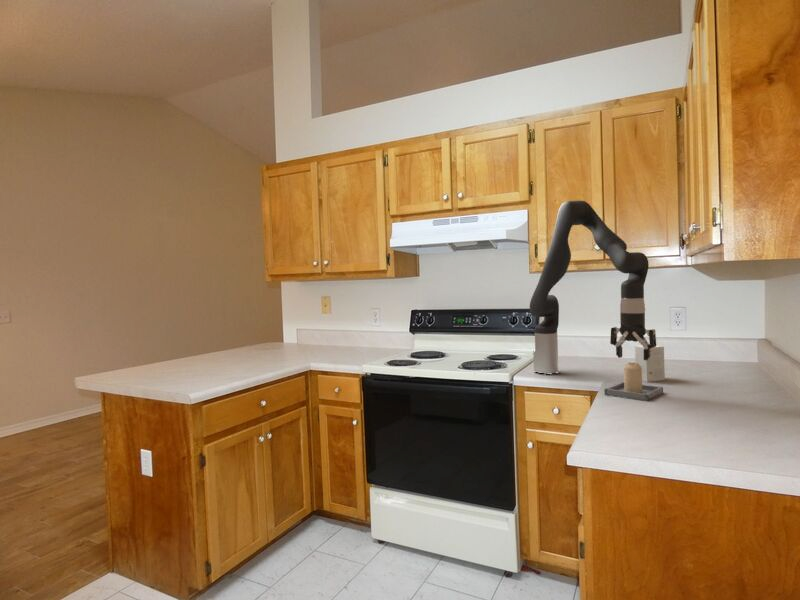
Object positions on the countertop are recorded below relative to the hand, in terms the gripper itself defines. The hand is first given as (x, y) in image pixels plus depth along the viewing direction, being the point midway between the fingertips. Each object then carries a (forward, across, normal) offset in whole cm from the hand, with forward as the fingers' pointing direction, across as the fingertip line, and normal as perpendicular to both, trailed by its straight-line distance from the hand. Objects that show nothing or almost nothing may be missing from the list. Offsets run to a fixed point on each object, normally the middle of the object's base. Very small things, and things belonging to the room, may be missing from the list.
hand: (632, 358), depth 166 cm
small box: (+13, -4, +26) cm, 29 cm away
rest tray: (+12, 0, 0) cm, 12 cm away
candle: (+12, 0, 0) cm, 12 cm away
